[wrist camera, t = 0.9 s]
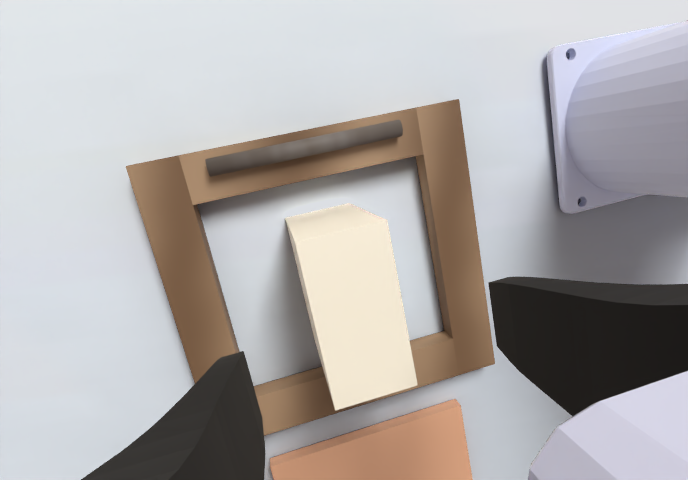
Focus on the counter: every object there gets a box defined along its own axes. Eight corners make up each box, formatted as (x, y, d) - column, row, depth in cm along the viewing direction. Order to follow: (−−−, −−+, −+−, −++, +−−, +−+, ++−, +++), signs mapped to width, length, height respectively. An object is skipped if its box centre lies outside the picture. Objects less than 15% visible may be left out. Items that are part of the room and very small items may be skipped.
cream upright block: (348, 203, 19) (387, 220, 13) (373, 321, 20) (417, 385, 14) (285, 217, 18) (295, 242, 13) (314, 338, 20) (335, 410, 14)
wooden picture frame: (448, 102, 19) (466, 96, 17) (484, 355, 22) (502, 370, 20) (133, 165, 17) (119, 166, 15) (218, 436, 20) (214, 461, 18)
